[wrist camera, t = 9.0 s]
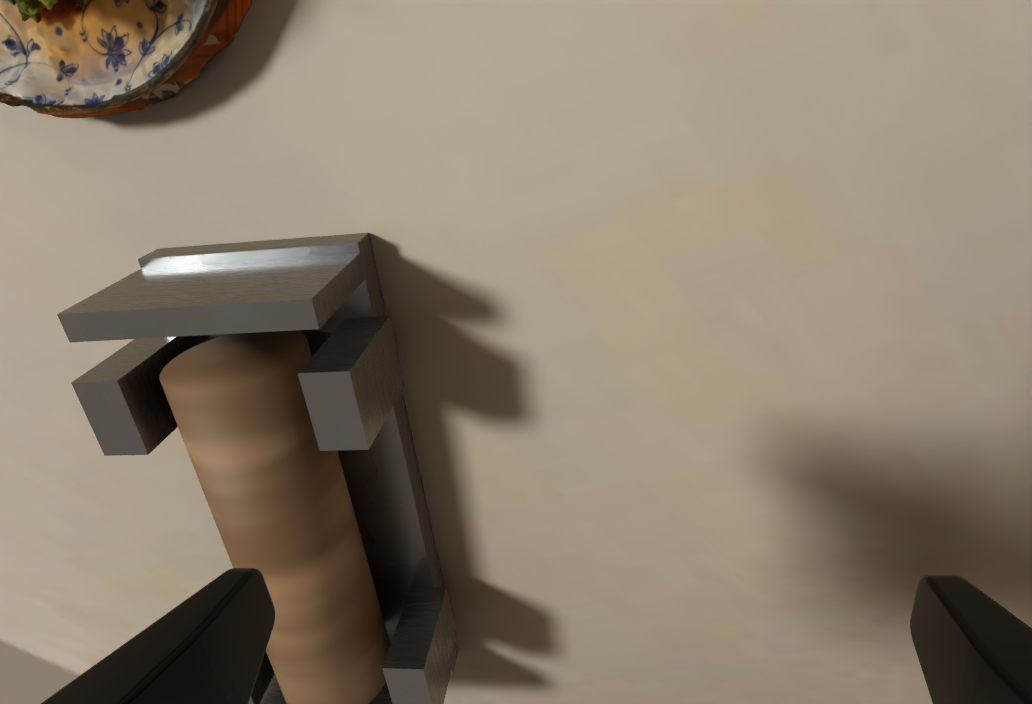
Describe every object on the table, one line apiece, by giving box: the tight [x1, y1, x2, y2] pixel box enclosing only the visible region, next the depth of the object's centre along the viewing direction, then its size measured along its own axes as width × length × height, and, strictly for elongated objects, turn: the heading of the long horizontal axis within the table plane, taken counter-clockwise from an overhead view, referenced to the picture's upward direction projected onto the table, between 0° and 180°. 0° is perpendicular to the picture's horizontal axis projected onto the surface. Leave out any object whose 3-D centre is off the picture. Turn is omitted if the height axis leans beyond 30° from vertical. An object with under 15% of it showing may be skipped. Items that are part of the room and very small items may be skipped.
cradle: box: [57, 233, 458, 704], centre depth 22 cm, size 8×18×4 cm, turn 6°
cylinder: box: [160, 330, 390, 704], centre depth 22 cm, size 13×4×4 cm, turn 6°
